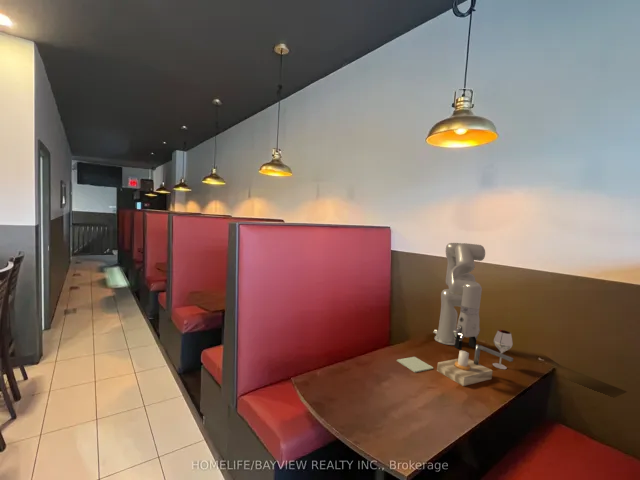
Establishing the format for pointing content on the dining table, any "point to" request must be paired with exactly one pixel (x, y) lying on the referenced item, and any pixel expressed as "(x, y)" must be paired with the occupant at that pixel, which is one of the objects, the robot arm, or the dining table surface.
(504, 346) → the wineglass
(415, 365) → the mat
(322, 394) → the dining table surface
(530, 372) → the dining table surface
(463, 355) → the plug
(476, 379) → the socket block
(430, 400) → the dining table surface
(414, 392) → the dining table surface
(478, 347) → the grey bar
